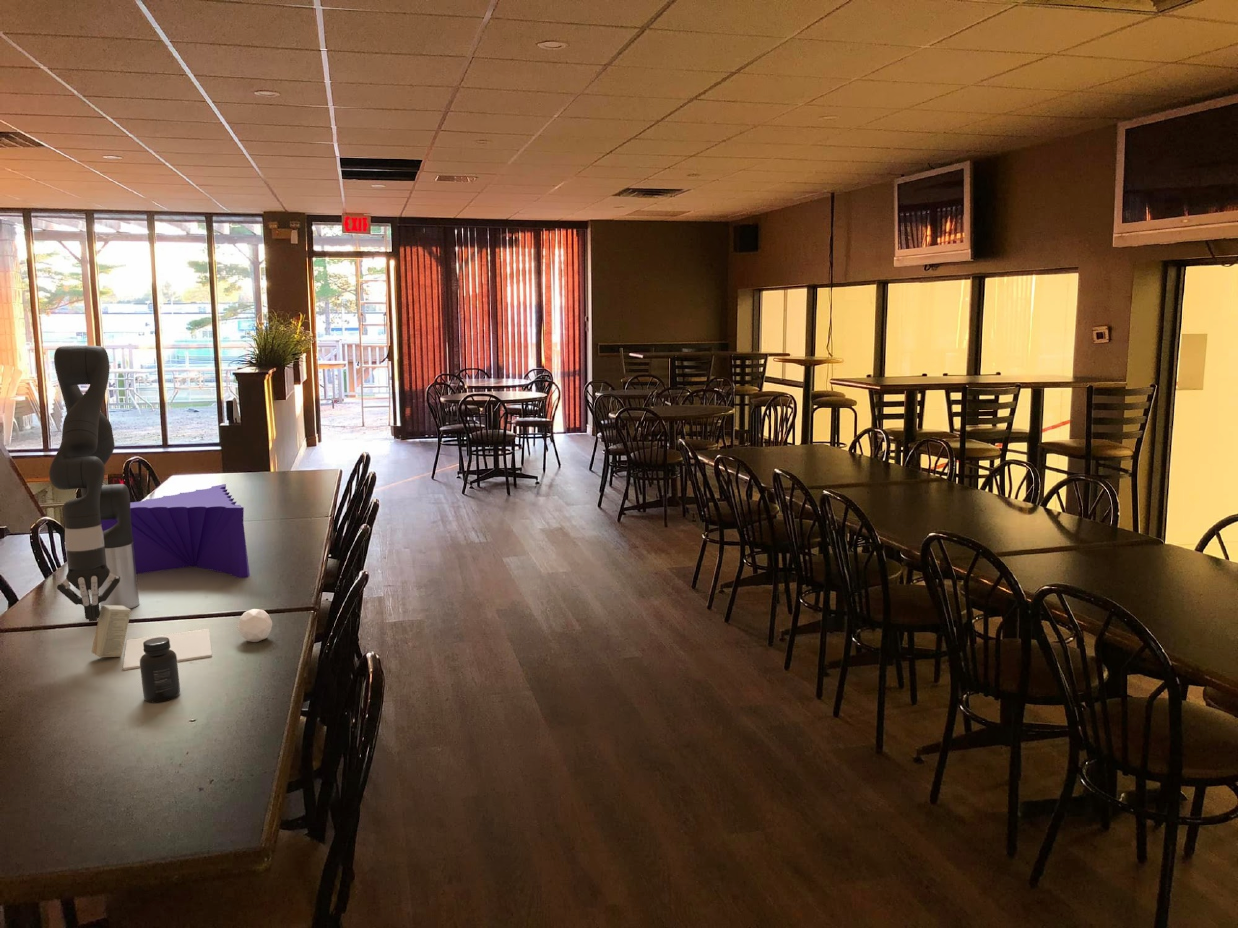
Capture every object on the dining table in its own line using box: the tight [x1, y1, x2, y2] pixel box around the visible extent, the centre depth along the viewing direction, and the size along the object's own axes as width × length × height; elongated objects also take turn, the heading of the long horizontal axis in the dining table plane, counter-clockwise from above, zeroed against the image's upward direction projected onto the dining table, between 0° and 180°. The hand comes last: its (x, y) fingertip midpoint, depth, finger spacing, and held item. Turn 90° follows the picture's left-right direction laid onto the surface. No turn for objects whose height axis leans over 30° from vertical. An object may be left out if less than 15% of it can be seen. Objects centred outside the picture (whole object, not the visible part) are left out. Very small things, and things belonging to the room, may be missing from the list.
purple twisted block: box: [101, 483, 251, 579], centre depth 296 cm, size 40×45×21 cm
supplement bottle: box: [139, 637, 181, 703], centre depth 191 cm, size 7×7×12 cm
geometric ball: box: [236, 608, 273, 643], centre depth 224 cm, size 8×8×8 cm
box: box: [91, 605, 132, 658], centre depth 214 cm, size 5×4×11 cm
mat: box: [122, 628, 213, 671], centre depth 219 cm, size 20×18×1 cm
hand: (92, 620), depth 211 cm, fingers closed
